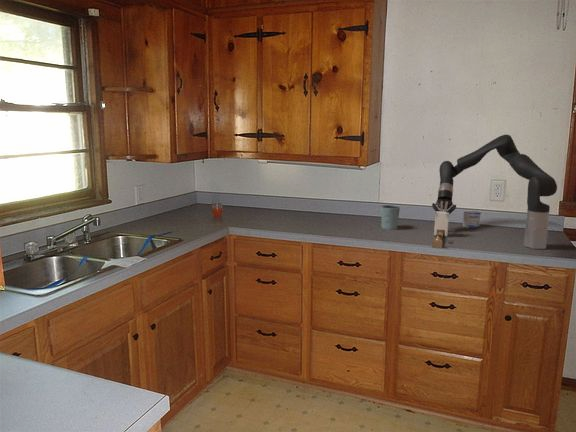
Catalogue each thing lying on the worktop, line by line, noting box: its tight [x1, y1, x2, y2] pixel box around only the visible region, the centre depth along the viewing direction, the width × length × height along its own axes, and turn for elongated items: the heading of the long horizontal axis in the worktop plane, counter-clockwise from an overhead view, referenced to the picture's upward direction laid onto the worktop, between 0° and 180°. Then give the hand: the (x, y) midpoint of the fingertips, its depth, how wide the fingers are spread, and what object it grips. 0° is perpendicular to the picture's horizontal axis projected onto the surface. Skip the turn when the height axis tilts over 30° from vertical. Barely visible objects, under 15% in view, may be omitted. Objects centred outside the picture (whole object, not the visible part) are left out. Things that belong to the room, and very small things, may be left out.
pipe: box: [431, 229, 454, 249], centre depth 251 cm, size 38×9×3 cm, turn 160°
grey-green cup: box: [380, 204, 401, 231], centre depth 274 cm, size 10×10×12 cm
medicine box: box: [462, 210, 482, 229], centre depth 278 cm, size 8×4×9 cm, turn 105°
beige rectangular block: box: [433, 211, 450, 237], centre depth 258 cm, size 5×6×12 cm
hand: (442, 219), depth 264 cm, fingers closed
